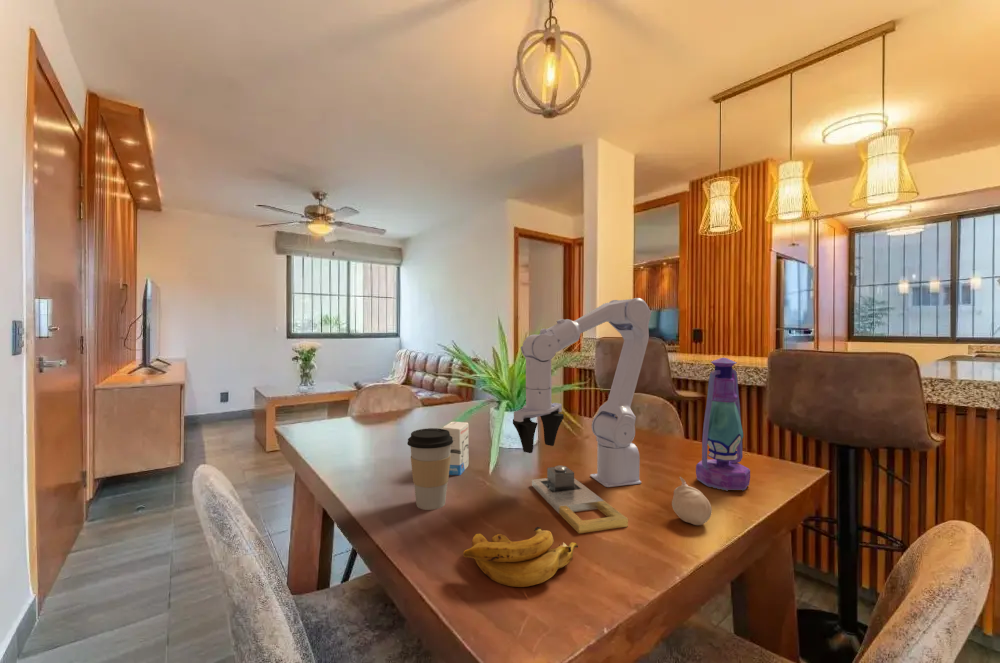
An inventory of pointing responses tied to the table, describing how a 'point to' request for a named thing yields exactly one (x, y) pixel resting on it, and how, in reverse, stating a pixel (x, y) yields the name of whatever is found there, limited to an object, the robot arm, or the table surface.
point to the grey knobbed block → (560, 479)
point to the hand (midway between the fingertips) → (538, 448)
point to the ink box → (458, 447)
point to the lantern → (723, 432)
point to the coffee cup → (430, 466)
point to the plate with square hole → (581, 507)
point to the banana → (520, 558)
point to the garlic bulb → (691, 504)
